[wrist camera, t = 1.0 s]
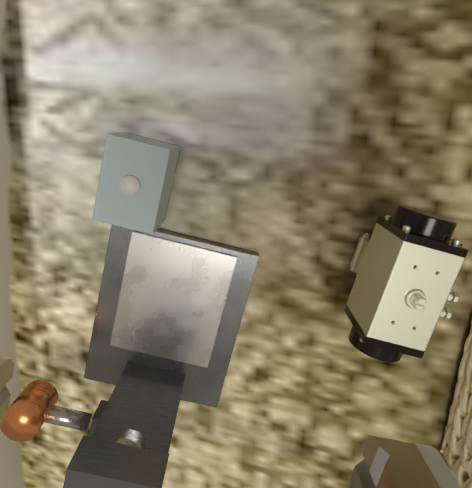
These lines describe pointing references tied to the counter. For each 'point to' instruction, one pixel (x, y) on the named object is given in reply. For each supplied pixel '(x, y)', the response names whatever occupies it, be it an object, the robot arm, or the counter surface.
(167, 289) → the press
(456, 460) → the storage basket
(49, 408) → the lever
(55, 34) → the counter surface
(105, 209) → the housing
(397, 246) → the pneumatic valve
